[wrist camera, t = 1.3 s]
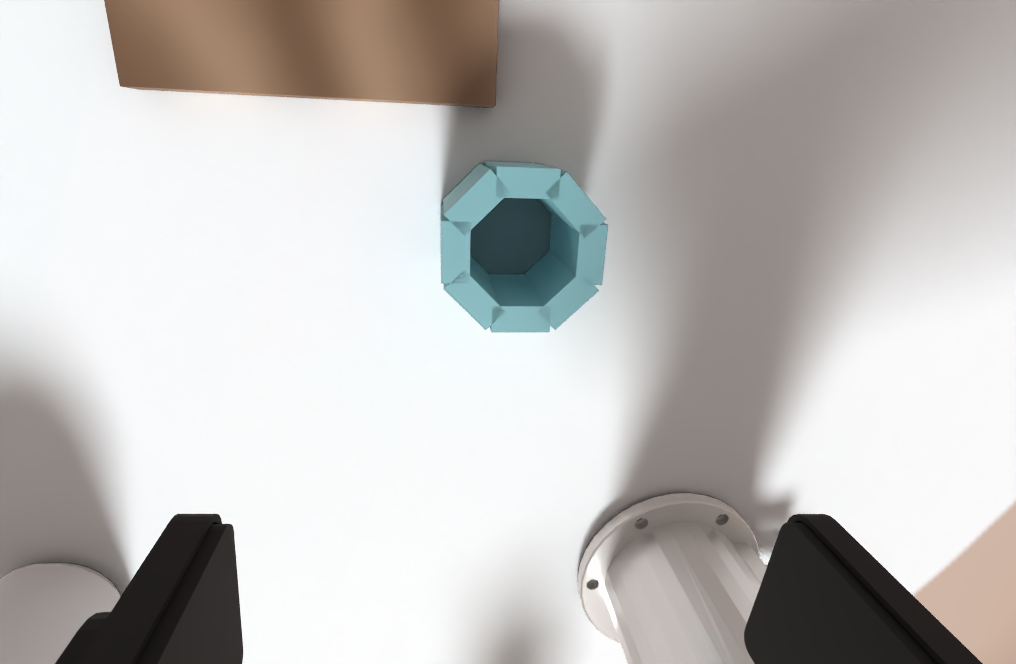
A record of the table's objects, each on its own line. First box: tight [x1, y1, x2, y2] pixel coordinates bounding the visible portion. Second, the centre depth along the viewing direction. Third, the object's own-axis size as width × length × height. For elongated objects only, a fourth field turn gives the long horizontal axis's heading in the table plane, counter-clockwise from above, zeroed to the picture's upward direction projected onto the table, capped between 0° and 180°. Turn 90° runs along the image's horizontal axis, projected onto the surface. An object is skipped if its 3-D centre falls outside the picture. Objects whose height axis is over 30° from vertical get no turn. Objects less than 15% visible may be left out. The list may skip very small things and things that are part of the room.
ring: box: [441, 161, 608, 332], centre depth 25 cm, size 7×7×6 cm
